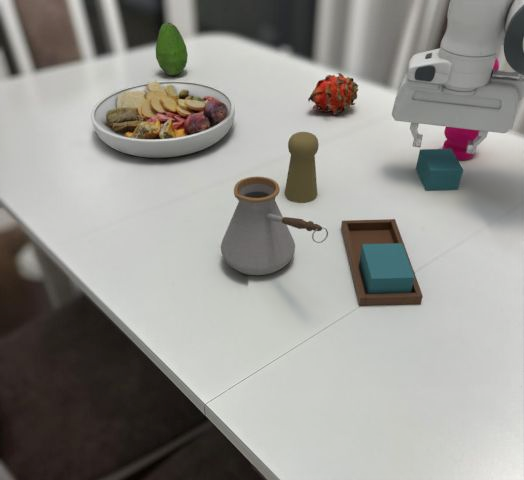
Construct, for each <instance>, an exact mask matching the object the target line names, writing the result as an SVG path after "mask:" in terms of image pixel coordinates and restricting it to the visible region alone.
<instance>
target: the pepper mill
mask: <svg viewBox="0 0 524 480" xmlns="http://www.w3.org/2000/svg"><path fill="white" fill-rule="evenodd" d="M499 69H500V63H499V60H498V58H497V57H496V60H495V63H494V66H493V70H499ZM490 78H491V77H490ZM444 127H445V126H444ZM443 132H444V137H445V139H446V140H444V142H443V145H442V149H452V151H453V153H454V154H455V156H456V158H457V159H458V161H467V160H470V159H472V158H473V157H474V156H475V153H474V154H468V153H466V148H467V146H468V141H469V140H472V141H473V140H474V139H475V138H476V137H477V136H478V132H479V130H471V129H462V128H453V127H445V128H444V131H443Z"/></svg>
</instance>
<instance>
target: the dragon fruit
mask: <svg viewBox="0 0 524 480" xmlns="http://www.w3.org/2000/svg"><path fill="white" fill-rule="evenodd" d="M337 75H338V76H336V75H334V74H333V75H331V74H328V75H326V76H325V78H323V79H320V80H318V81H317V83H316V86H315V88H314V89H313V91H312V92H311V94H310V95H309V97H308V99H307V100H308V103H310V101H311V102H312V103H314V105H313V106H312V109H313V110H315V111H316V112H323V113H327V112H330V111H332V115H333V116H337V114H338V113H342V112H344V111H345V110H346V109H349V108H351V107H350V106H355V105H356V102H355V100H357V99H358V91H359V84H357V82H356V81H354V78H353V77H349V76H348V77H347V76H345V77H344V75H343V74H342V73H341V72H338V73H337Z"/></svg>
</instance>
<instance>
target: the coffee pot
mask: <svg viewBox="0 0 524 480" xmlns="http://www.w3.org/2000/svg"><path fill="white" fill-rule="evenodd" d="M280 190H281V187H280V185H279V183H278V182H277V181H276V180H274V179H272V178H269V177H265V176H258V175H257V176H248V177H245V178H241V180H239V181H237V183H235V185H234V188H233V195H234V197H235V198H236V199H237V201H238V203H237V205H236V208H235V209H234V212H233V214H232V217H231V219H230V221H229V224H228V226H227V229H226V231H225V233H224V236H223V238H222V240H221V244H220V252H221V255H222V257H223V258H224V261H226V264H228V265H229V266H230V267H231V268H232V269H234V270H236V271H237V272H239V273H241V274H243V275H245V276H265V275H270V274H274V273H276V272H278V271H280V270H282V269H283V268H284V267H285V266H286V265H288V264H289V263H290V261H291V260H292V258H293V256H294V254H295V251H296V242H295V240H294V237H293V235H292V232H291V231H290V229H289V227H288V226H290V227H292V228H294V229H298V230H306V231H307V232H312V234H311V239H312V241H313V242H314V243H317V244H320V243H323V242H325V241H326V240H327V238H328V237H329V231H328V229H327V228H325V227H323V226H321V225H319V224H318V223H314V222H313V221H312V220H309V221H306V220H304V219H303V218H296V217H289V216H288V217H287V216H283V214H282V211H281V210H280V208H279V206H278V203H277V201H276V198H277V197H278V195H279V194H280ZM322 230H325V232H326V236H325V237H324V239H321V241H316V240H315V238H314V236H315V233H316V232H320V231H322Z"/></svg>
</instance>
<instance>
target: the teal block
mask: <svg viewBox="0 0 524 480" xmlns="http://www.w3.org/2000/svg"><path fill="white" fill-rule="evenodd" d="M404 246H405V245H404ZM404 246H403V244H402V243H393V244H362V249H361V255H360V262H359V268H360V272H361V276H362V280H363V284H364V288H365V292H366V294H393V293H411V290H412V286H413V282H414V278H415V277H414V274H413V271H412V269H411V266H410V263H409V260H408V258H407V255H406V252H405V249H404Z"/></svg>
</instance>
